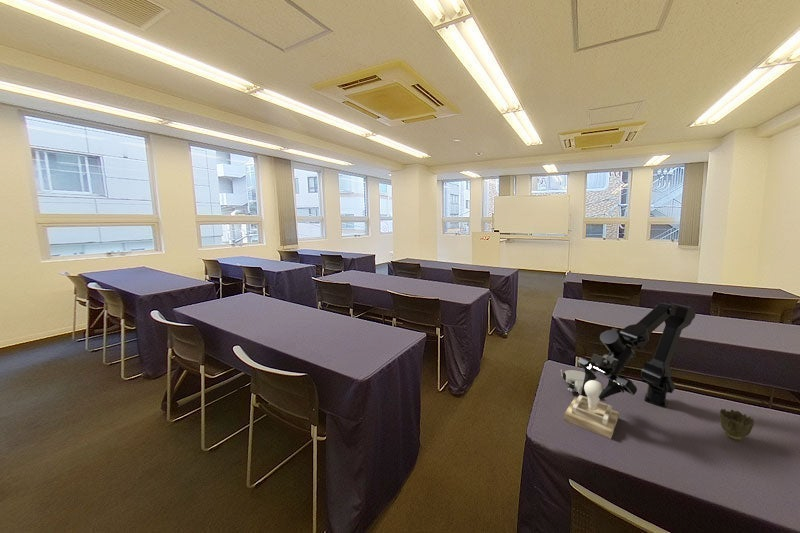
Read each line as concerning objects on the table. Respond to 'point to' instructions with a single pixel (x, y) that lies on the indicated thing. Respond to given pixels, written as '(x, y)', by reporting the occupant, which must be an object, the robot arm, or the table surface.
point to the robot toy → (575, 380)
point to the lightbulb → (593, 393)
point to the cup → (735, 424)
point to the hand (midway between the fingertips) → (591, 393)
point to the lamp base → (592, 416)
